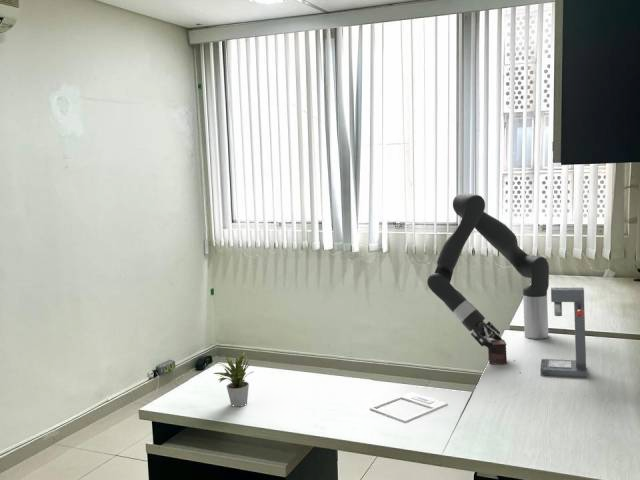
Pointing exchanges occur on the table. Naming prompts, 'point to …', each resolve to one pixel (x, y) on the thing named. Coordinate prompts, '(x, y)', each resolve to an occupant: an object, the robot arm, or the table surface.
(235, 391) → the house plant
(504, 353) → the box
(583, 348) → the press
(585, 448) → the table surface
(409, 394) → the photo frame
